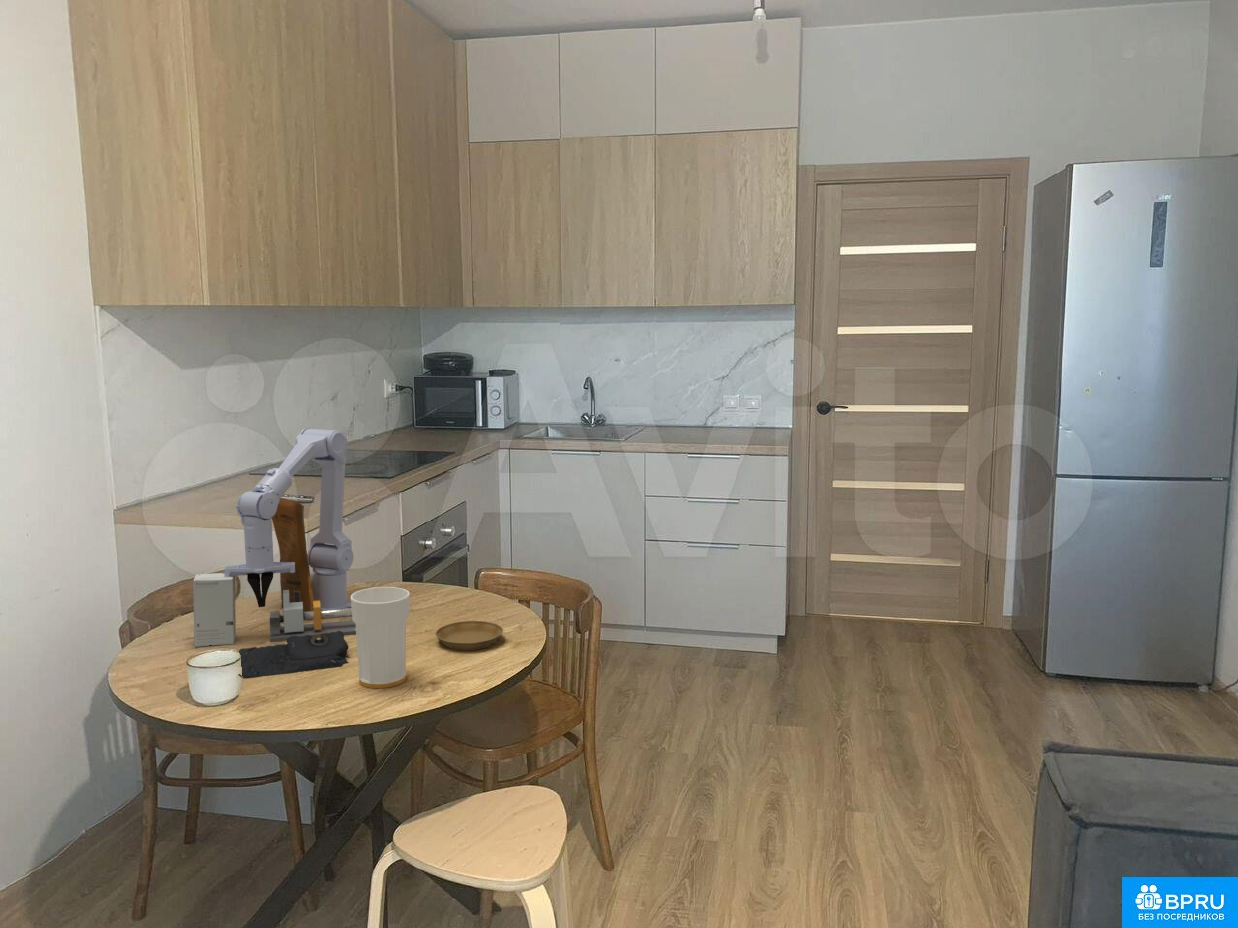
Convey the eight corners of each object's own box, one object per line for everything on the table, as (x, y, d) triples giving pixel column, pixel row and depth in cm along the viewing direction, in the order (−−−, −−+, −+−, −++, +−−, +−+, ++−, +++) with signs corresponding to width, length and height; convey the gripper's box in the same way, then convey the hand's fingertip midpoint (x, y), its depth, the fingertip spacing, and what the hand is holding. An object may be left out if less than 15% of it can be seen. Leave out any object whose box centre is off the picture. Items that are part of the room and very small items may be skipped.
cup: (388, 664, 197) (386, 583, 194) (423, 678, 190) (422, 593, 187) (341, 680, 188) (338, 595, 186) (376, 695, 181) (374, 606, 179)
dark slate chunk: (235, 657, 202) (233, 635, 201) (342, 643, 210) (341, 623, 210) (237, 682, 188) (236, 659, 187) (352, 667, 197) (351, 645, 196)
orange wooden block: (314, 630, 214) (313, 607, 213) (314, 622, 219) (313, 600, 218) (321, 629, 214) (320, 607, 213) (321, 622, 219) (320, 600, 218)
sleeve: (284, 632, 212) (282, 596, 210) (284, 625, 217) (283, 589, 215) (303, 631, 213) (302, 594, 212) (303, 623, 218) (302, 588, 217)
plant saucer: (472, 659, 202) (472, 647, 201) (421, 645, 209) (421, 634, 209) (516, 639, 214) (516, 628, 213) (466, 627, 222) (466, 616, 221)
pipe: (270, 639, 211) (269, 617, 210) (271, 632, 216) (270, 611, 215) (391, 628, 219) (390, 607, 218) (389, 622, 224) (388, 601, 223)
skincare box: (194, 647, 206) (190, 580, 204) (197, 638, 212) (193, 573, 209) (236, 644, 208) (232, 577, 206) (238, 635, 214) (234, 570, 212)
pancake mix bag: (294, 622, 223) (289, 504, 219) (268, 602, 238) (262, 492, 233) (322, 617, 227) (318, 501, 223) (294, 598, 242) (290, 489, 237)
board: (270, 642, 210) (270, 638, 210) (271, 630, 217) (271, 626, 217) (391, 631, 218) (391, 627, 218) (388, 620, 225) (388, 616, 225)
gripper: (221, 552, 204) (225, 614, 206) (293, 548, 208) (296, 608, 210) (224, 544, 210) (227, 604, 212) (293, 540, 215) (296, 599, 217)
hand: (261, 605), depth 212 cm, fingers closed
